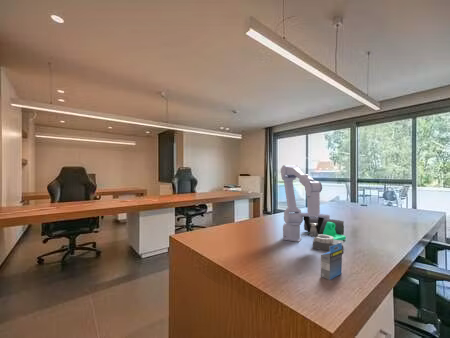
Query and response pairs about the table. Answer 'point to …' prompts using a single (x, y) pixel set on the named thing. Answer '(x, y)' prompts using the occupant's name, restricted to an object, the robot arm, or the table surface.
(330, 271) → the label tape box
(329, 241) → the camera body
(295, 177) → the robot arm
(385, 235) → the table surface
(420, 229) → the table surface
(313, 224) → the lens
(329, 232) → the camera mount
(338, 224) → the bluetooth speaker
